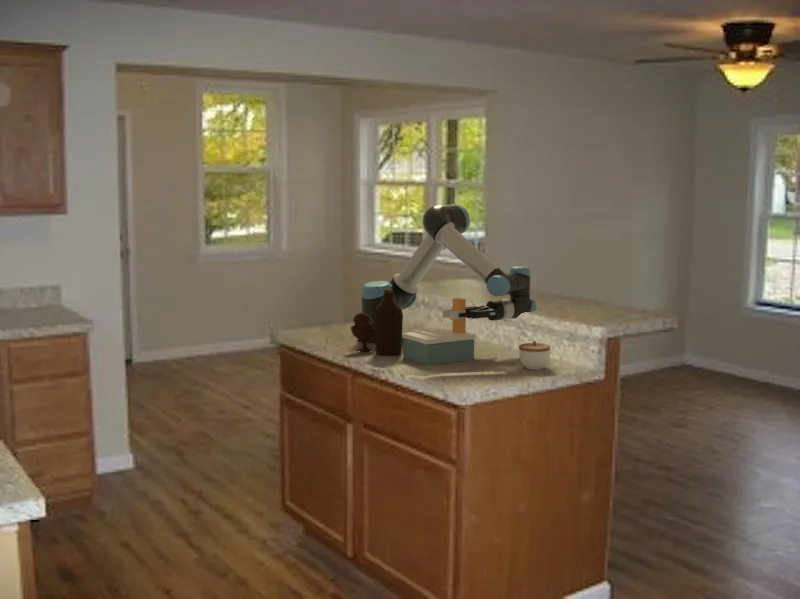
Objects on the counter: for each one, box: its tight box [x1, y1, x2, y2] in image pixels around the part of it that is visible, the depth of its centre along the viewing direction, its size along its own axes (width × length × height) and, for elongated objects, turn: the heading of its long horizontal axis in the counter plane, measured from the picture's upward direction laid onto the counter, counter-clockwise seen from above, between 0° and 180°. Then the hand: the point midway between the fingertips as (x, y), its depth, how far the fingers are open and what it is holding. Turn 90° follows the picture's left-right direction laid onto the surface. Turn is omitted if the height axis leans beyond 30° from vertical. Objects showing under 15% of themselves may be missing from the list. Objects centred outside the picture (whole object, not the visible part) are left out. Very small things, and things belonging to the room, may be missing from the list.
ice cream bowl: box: [350, 312, 375, 353], centre depth 341 cm, size 11×11×15 cm
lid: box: [402, 297, 476, 345], centre depth 321 cm, size 17×21×14 cm
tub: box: [402, 338, 475, 366], centre depth 323 cm, size 16×20×8 cm
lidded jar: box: [518, 340, 551, 371], centre depth 310 cm, size 11×11×9 cm
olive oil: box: [374, 289, 404, 357], centre depth 330 cm, size 11×11×25 cm
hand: (446, 314), depth 323 cm, fingers closed on lid, 4 cm apart
